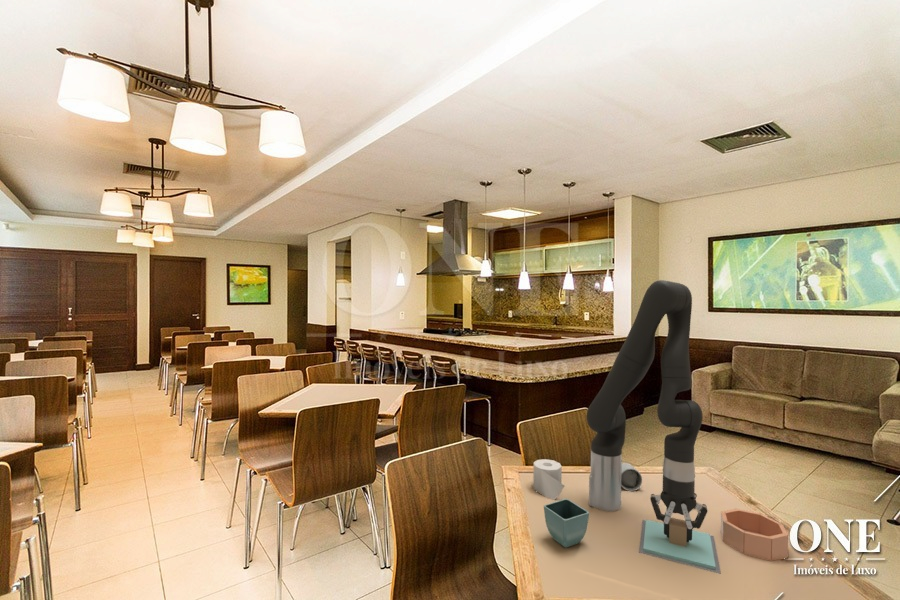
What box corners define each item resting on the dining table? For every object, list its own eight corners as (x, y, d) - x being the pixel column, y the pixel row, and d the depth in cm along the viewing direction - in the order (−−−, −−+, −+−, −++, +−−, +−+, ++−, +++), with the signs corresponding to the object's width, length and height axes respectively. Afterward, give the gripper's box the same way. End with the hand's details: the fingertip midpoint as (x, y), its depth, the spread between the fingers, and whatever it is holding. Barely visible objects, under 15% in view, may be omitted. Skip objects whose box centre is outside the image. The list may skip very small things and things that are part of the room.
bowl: (724, 551, 111) (725, 528, 111) (719, 525, 124) (719, 505, 124) (791, 567, 105) (792, 543, 105) (778, 538, 117) (779, 517, 117)
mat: (638, 554, 110) (638, 552, 110) (642, 521, 126) (642, 519, 126) (720, 575, 102) (720, 573, 102) (713, 537, 118) (713, 536, 118)
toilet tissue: (556, 503, 137) (556, 476, 136) (527, 487, 148) (528, 462, 148) (575, 496, 141) (575, 470, 141) (546, 481, 153) (546, 457, 152)
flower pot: (564, 554, 109) (565, 520, 109) (542, 537, 117) (542, 504, 117) (589, 545, 113) (590, 512, 113) (566, 529, 121) (566, 498, 121)
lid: (643, 551, 110) (643, 529, 110) (646, 522, 124) (646, 502, 124) (715, 570, 103) (716, 546, 103) (709, 536, 117) (710, 515, 117)
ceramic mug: (634, 481, 153) (633, 460, 153) (642, 491, 145) (642, 469, 145) (603, 480, 154) (603, 459, 154) (610, 490, 146) (610, 468, 146)
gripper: (708, 474, 114) (707, 538, 114) (649, 464, 120) (648, 525, 120) (710, 486, 107) (709, 553, 107) (648, 474, 113) (647, 538, 114)
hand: (677, 538), depth 114 cm, fingers closed on lid, 4 cm apart
